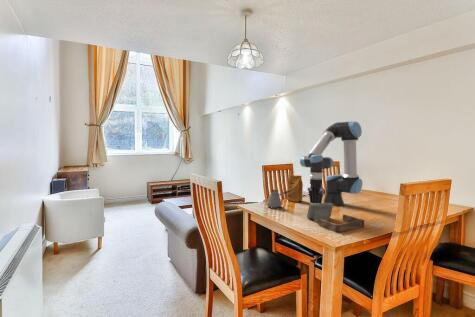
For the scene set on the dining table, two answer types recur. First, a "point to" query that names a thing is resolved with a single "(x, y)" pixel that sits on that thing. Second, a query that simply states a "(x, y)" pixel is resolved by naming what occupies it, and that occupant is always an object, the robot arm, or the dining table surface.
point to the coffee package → (295, 188)
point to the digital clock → (319, 211)
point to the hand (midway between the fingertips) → (315, 214)
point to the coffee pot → (275, 199)
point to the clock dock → (350, 225)
